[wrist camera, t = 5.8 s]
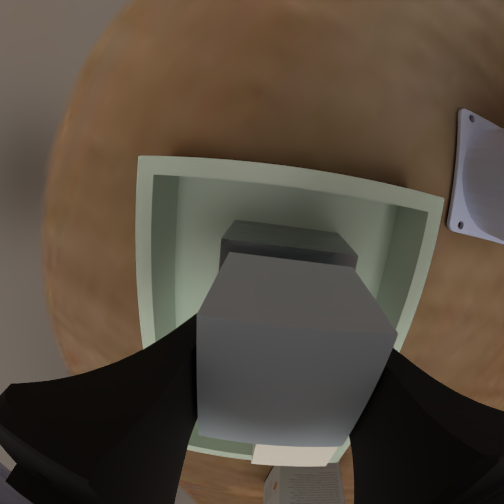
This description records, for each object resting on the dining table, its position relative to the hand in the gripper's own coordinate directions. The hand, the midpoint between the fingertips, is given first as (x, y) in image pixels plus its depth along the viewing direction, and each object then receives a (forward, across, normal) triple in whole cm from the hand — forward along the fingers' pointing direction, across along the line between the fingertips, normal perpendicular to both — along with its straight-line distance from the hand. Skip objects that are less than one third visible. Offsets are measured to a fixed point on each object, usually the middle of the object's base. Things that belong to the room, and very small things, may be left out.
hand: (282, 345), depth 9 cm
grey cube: (+2, 0, 0) cm, 2 cm away
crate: (+7, 0, +4) cm, 8 cm away
